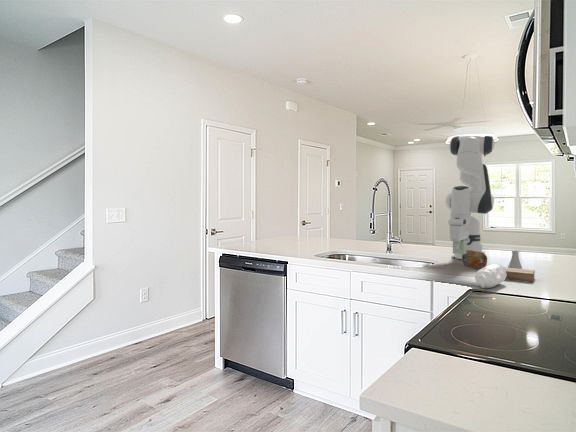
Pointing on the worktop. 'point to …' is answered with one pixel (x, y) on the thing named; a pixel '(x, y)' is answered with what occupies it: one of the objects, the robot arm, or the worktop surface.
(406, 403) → the worktop surface
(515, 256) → the flask
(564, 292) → the worktop surface
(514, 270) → the brown block
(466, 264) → the tin
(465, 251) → the sage block
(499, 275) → the white plastic bottle
